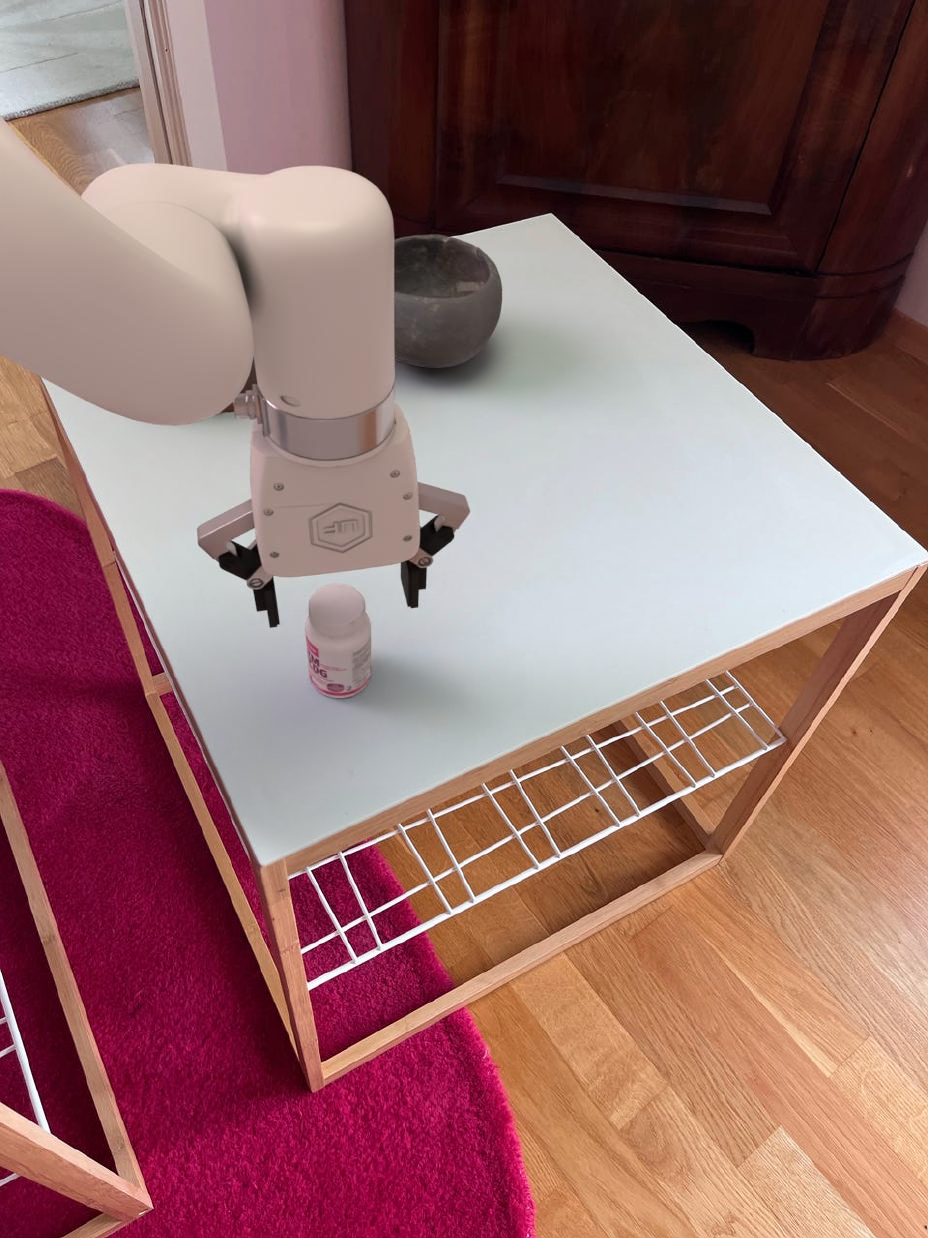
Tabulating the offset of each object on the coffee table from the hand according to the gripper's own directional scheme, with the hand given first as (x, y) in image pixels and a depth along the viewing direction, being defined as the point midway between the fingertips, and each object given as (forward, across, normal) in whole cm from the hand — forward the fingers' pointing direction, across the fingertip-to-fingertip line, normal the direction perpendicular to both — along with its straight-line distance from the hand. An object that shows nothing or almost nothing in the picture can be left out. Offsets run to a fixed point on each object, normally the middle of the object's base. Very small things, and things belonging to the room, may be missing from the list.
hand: (342, 602), depth 67 cm
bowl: (+9, +14, +41) cm, 44 cm away
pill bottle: (+9, 0, 0) cm, 9 cm away
